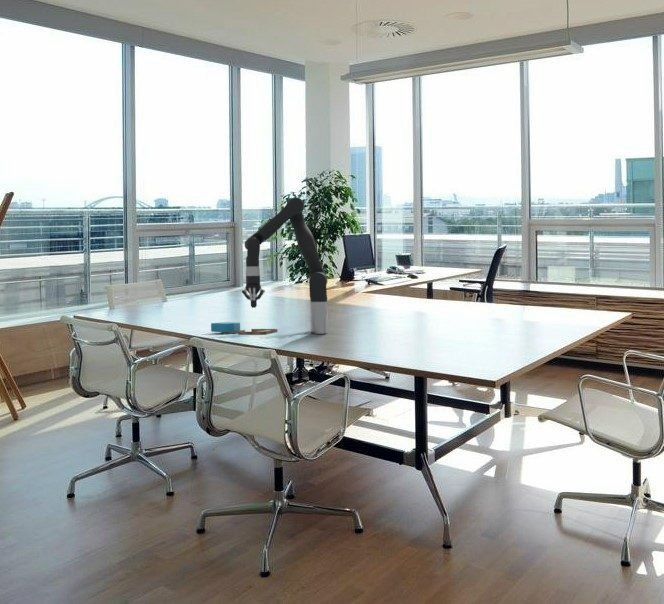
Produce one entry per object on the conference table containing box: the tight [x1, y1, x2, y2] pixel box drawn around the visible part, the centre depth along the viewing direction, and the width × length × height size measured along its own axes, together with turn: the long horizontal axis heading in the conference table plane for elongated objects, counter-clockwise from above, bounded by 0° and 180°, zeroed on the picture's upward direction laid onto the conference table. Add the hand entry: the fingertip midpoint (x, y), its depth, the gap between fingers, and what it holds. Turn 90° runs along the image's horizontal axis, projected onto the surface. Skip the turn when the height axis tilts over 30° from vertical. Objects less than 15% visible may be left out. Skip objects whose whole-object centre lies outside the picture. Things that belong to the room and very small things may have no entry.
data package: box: [210, 321, 241, 333], centre depth 395 cm, size 12×4×12 cm
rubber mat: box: [220, 329, 246, 335], centre depth 396 cm, size 8×14×1 cm, turn 165°
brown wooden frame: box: [238, 328, 278, 336], centre depth 392 cm, size 15×20×2 cm
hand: (253, 307), depth 392 cm, fingers closed
